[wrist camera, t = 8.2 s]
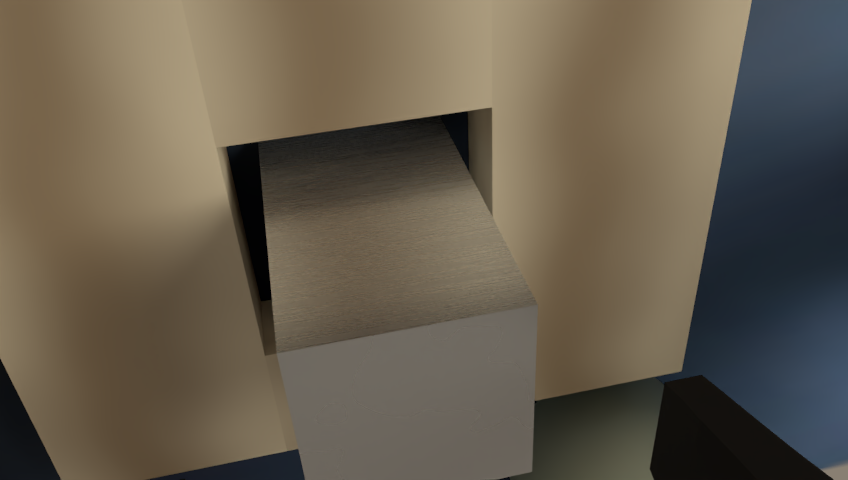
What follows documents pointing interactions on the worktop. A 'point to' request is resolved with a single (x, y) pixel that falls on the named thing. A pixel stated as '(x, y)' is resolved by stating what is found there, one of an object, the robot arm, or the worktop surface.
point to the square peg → (396, 308)
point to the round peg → (596, 433)
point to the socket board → (314, 113)
